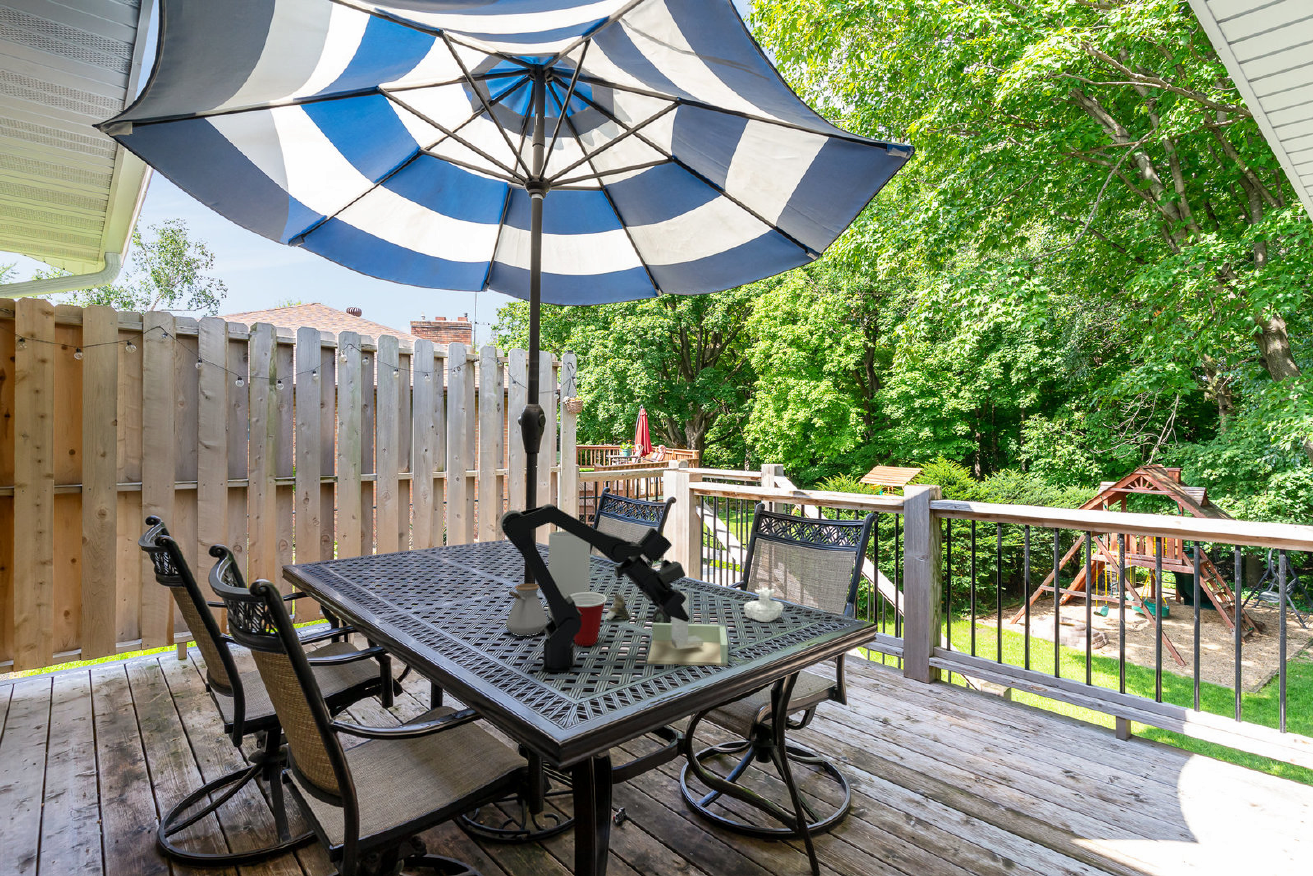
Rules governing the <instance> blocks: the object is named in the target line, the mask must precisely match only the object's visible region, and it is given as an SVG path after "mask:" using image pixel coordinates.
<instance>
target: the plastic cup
mask: <svg viewBox="0 0 1313 876" xmlns="http://www.w3.org/2000/svg"><path fill="white" fill-rule="evenodd" d="M570 596H571V598H572V599H573V600H574V602H575V605H576V608H577V609H578V610H579V612H580V613H581V614H582V617H580V619H581V622H582V626H581V629H580V631H579V632H578V633H577V634H576V635H575V637H574V639H573V642H574V643H575V645H576V646H580V645H581V647H582V646H583V647H589V646H593V644H594V645H595V643H596V644H597V642H598V638H599V631H600V629H601V621H602V618H603V611H604V607H605V604H606V602H607V600H608V599H607V596H606V595H605V594H602V593H598V592H593V591H590V592H582V593H576V594H572V595H570Z"/></svg>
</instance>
